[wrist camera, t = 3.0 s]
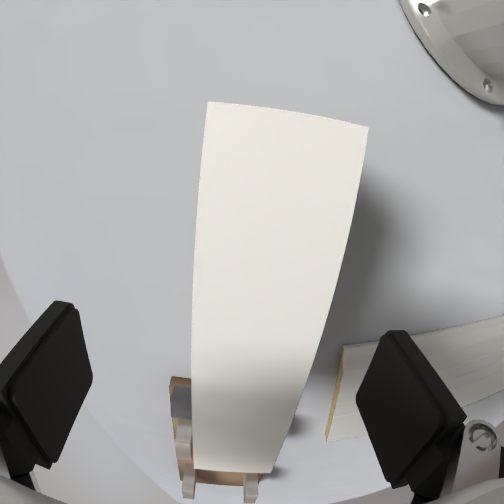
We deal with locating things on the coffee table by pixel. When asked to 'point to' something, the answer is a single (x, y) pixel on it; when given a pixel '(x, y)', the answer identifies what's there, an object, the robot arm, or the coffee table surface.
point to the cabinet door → (263, 274)
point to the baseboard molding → (442, 360)
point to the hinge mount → (199, 475)
